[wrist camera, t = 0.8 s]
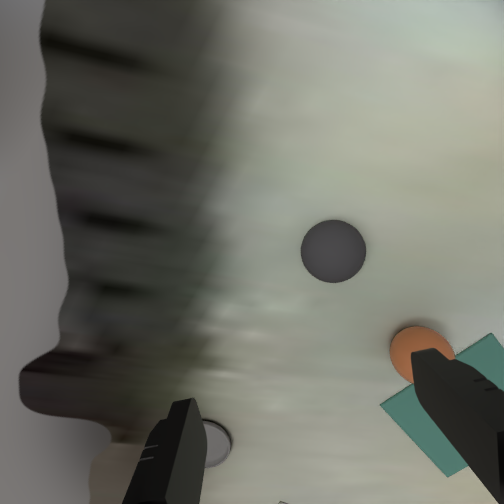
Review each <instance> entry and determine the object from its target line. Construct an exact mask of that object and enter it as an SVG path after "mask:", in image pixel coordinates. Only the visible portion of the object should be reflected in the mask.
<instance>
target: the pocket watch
mask: <svg viewBox="0 0 504 504" xmlns="http://www.w3.org/2000/svg"><path fill="white" fill-rule="evenodd" d="M203 424H204V427H205V431H206V435H207V456H206V462H205V468H211V467H215V466H218V465H220V464H221V463H223V462H224V461H225V460H226V459H227V457H228V455H229V453H230V448H231V444H230V439H229V436H228V434H227V433H226V432H225V431H224V430H223V429H222V428H221V427H220V426H218V425H216V424H215V423H212V422H208V421H203Z"/></svg>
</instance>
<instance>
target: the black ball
mask: <svg viewBox="0 0 504 504" xmlns="http://www.w3.org/2000/svg"><path fill="white" fill-rule="evenodd" d="M301 257H302V261H303V264H304V266H305V267H306V269H307V270H308V271H309V273H310V274H311V275H313V276H314V277H315V278H317V279H319V280H321V281H325V282H330V283H337V282H342V281H345V280H348V279H350V278H351V277H353V276H354V275H355V274H356V273H357V272H358V271H359V270H360V269H361V267H362V265H363V263H364V261H365V257H366V246H365V242H364V240H363V238H362V236H361V234H360V233H359V231H358V230H357V229H356V228H354V227H353V226H352V225H350V224H348V223H346V222H343V221H339V220H329V221H324V222H321V223H319V224H317V225H315V226H314V227H312V228H311V229H310V230H309V231H308V233H307V234H306V235H305V237H304V239H303V242H302V246H301Z"/></svg>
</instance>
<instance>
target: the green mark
mask: <svg viewBox="0 0 504 504" xmlns="http://www.w3.org/2000/svg"><path fill="white" fill-rule="evenodd" d="M455 359H457V360H459V361H461V362H463V363H466V364H468V365H470V366H472V367H474V368H475V369H476V370H478V371H479V372H480V373H481V374H483V375H484V376H485V377H486V378H487V380H490V381H491V382H493V383H494V384H495V385H496V386H498V388H499V389H501V390H503V391H504V348H503V347H502V346H501V344H500V343H499V342H498V340H497V339H496V338H495V337H494V335H493V334H492V333H490V334H489V335H487V336H486V337H484V338H483V339H481V340H480V341H478V342H476V343H475V344H473V345H472V346H470V347H469V348H467V349H466V350H464V351H462V352H461V353H459V354H458V355H456V356H455ZM380 406H381V407H382V408H383V409H384V410H385V411H386V412H387V413H388V414H389V415H390V417H391V418H392V419H393V420H394V421H395V422H396V423H397V424H398V425H399V426H400V427H401V428H402V429H403V430H404V432H405V433H406V434H407V435H408V436H409V437H410V438H411V439H412V440H413V441H414V442H415V443H416V444H417V445H418V447H419V448H420V449H421V450H422V451H423V452H424V453H425V454H426V455H427V456H428V457H429V458H430V459H431V460H432V461H433V463H434V464H435V465H436V466H437V467H438V468H439V469H440V470H441V471H442V472H443V473H444V474H445V475H446V476H447V477H449V476H451V475H453V474H455V473H456V472H458V471H460V470H462V469H464V468H465V467H467V466H469V465H468V464H467V463H466V462H465V460H464V459H463V458H462V457H461V455H460V454H459V453H458V452H457V450H456V449H455V448H454V447H453V445H452V444H451V443H450V442H449V440H448V439H447V438H446V437H445V435H444V434H443V433H442V431H441V430H440V429H439V428H438V426H437V425H436V424H435V423H434V421H433V420H432V419H431V418H430V416H429V415H428V414H427V413H426V411H425V410H424V409H423V407H422V406H421V404H420V402H419V400H418V398H417V396H416V393H415V388H414V384H411V385H410V386H408V387H407V388H405V389H403V390H402V391H400V392H399V393H397V394H396V395H394V396H393V397H391V398H389V399H388V400H386V401H385V402H383V403H382V404H380Z"/></svg>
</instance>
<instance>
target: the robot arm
mask: <svg viewBox="0 0 504 504" xmlns="http://www.w3.org/2000/svg"><path fill="white" fill-rule="evenodd" d="M411 365H412V373H413V381H414V388H415V393H416V396H417V398H418V400H419V402H420V404H421V406H422V407H423V409H424V410H425V411H426V413H427V414H428V415H429V416H430V418H431V419H432V420H433V421H434V423H435V424H436V425H437V426H438V428H439V429H440V430H441V431H442V433H443V434H444V435H445V437H446V438H447V439H448V440H449V442H450V443H451V444H452V445H453V447H454V448H455V449H456V450H457V452H458V453H459V454H460V455H461V457H462V458H463V459H464V460H465V462H466V463H467V464H468V465H469V467H470V468H471V469H472V471H473V472H474V473H475V474H476V476H477V477H478V478H479V479H480V481H481V482H482V483H483V484H484V486H485V487H486V488H487V489H488V491H489V492H490V493H491V494H492V496H493V497H494V498H495V500H496V501H497V502H498V503H499V504H504V391H503V390H501V389H499V388H498V386H496V385H495V384H494V383H493V382H491V381H490V380H487V378H486V377H485V376H484V375H483V374H481V373H480V372H479V371H478V370H476V369H475V368H474V367H472V366H470V365H468V364H466V363H463V362H461V361H459V360H457V359H453V360H449V359H448V358H446V357H445V356H444V355H443V354H442V353H441V352H439V351H438V350H437V349H436V348H429V349H424V350H419V351H415V352H412V353H411ZM206 456H207V435H206V431H205V427H204V424H203V421H202V418H201V415H200V412H199V408H198V405H197V402H196V400H195V399H194V398H190V399H185V400H180V401H176V402H173V403H172V406H171V408H170V411H169V414H168V417H167V419H164V420H160V421H159V422H158V424H157V425H156V426H155V427H154V429H153V430H152V431H151V432H150V434H149V437H148V439H147V442H146V444H145V447H144V450H143V452H142V454H141V457H140V462H138V464H137V467H136V469H135V472H134V474H133V477H132V480H131V482H130V485H129V487H128V490H127V492H126V495H125V497H124V500H123V502H122V504H199V502H200V495H201V489H202V482H203V475H204V469H205V462H206Z"/></svg>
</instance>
